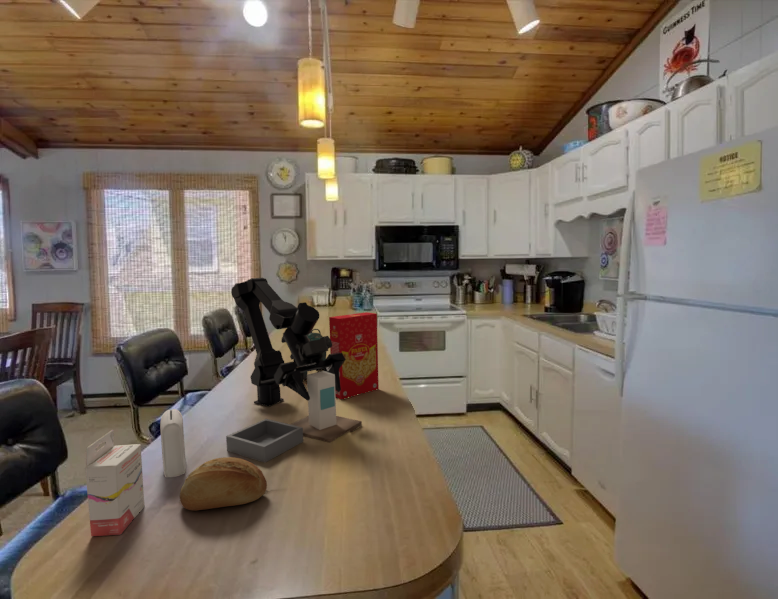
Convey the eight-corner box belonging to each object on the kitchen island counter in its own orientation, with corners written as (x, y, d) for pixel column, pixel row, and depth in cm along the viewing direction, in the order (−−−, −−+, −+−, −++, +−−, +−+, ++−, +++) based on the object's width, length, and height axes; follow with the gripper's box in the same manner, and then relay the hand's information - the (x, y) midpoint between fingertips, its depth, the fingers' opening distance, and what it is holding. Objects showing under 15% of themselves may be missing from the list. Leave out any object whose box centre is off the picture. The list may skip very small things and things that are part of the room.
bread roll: (265, 512, 77) (263, 468, 76) (172, 525, 74) (169, 479, 73) (268, 484, 87) (266, 445, 86) (186, 494, 84) (183, 454, 83)
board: (282, 432, 112) (282, 427, 112) (316, 415, 123) (316, 411, 123) (330, 444, 104) (329, 439, 104) (361, 425, 115) (361, 421, 115)
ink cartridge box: (122, 535, 72) (114, 447, 70) (90, 537, 71) (81, 449, 70) (146, 505, 80) (140, 426, 78) (117, 507, 80) (110, 428, 78)
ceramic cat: (303, 382, 155) (300, 326, 153) (287, 381, 158) (284, 325, 156) (330, 368, 174) (328, 317, 172) (315, 367, 176) (313, 317, 174)
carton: (309, 424, 113) (306, 374, 112) (325, 419, 117) (323, 370, 115) (320, 430, 110) (318, 378, 108) (337, 424, 113) (335, 374, 112)
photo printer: (164, 461, 97) (159, 406, 96) (185, 456, 99) (181, 403, 98) (163, 482, 88) (158, 421, 87) (187, 477, 90) (182, 418, 89)
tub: (227, 453, 101) (226, 436, 100) (266, 434, 111) (266, 418, 110) (264, 465, 94) (264, 447, 94) (303, 443, 105) (302, 427, 104)
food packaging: (341, 399, 136) (338, 318, 133) (331, 395, 140) (329, 317, 137) (378, 389, 146) (376, 313, 143) (368, 386, 150) (366, 312, 147)
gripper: (277, 331, 107) (303, 385, 100) (340, 322, 120) (367, 370, 113) (264, 358, 114) (287, 410, 107) (325, 347, 126) (349, 393, 119)
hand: (324, 395), depth 111 cm, fingers open, 9 cm apart
